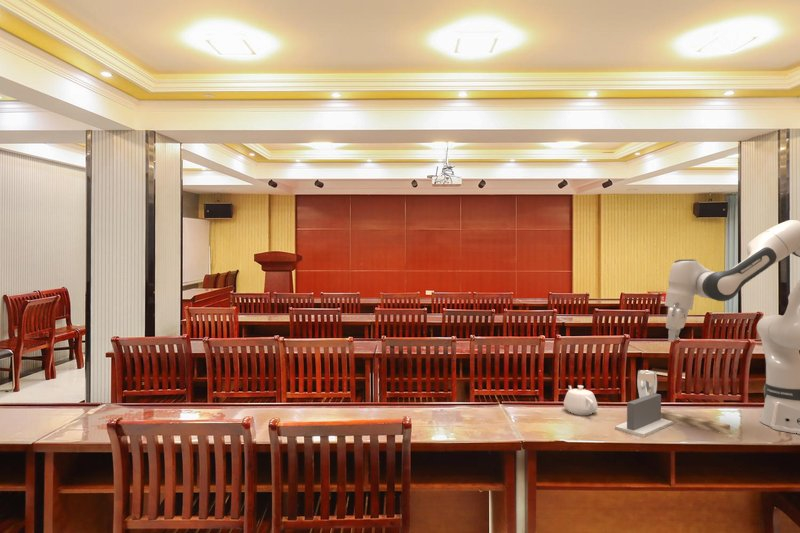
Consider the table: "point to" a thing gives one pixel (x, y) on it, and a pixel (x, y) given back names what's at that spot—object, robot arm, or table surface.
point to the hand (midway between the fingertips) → (672, 340)
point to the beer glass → (646, 382)
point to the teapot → (580, 401)
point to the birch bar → (696, 422)
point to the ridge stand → (644, 416)
